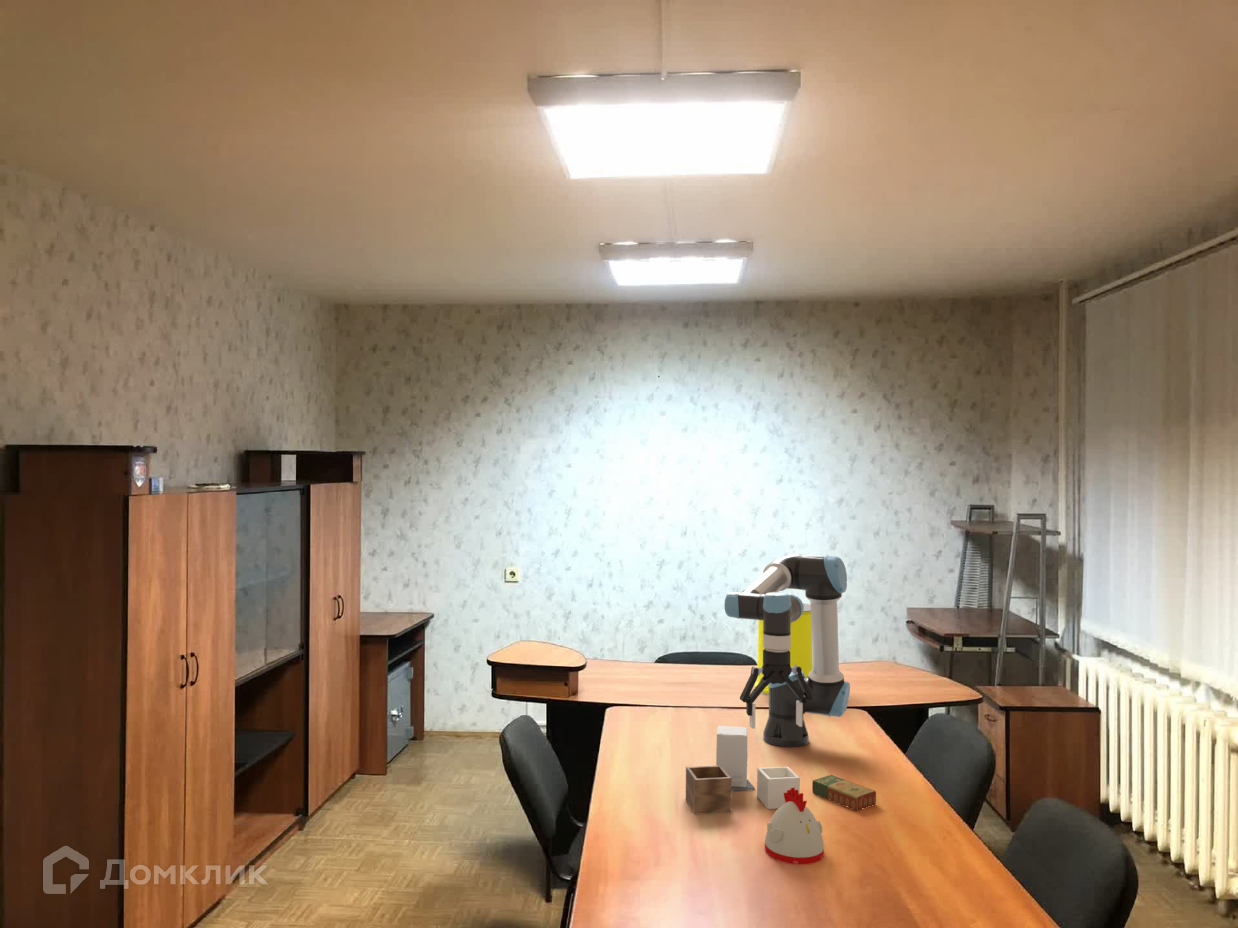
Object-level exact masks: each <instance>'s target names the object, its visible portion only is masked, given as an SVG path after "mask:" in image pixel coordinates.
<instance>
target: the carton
mask: <svg viewBox="0 0 1238 928" xmlns="http://www.w3.org/2000/svg"><path fill="white" fill-rule="evenodd" d="M811 785H812V787H811V788H812V789H811V790H812V794H814V795H816V796H820V797H821V798H824V799H826V800H829V799H830V800H829V801H831V802H834V801H835V802H834V803H836V804H838V803H840V804H839V805H841V806H843V805H844V806H843V807H846V806H848V807H849V809H851V808H852V809H851V810H853V809H854V810H853V811H855V810H859V811H862V810H863V809H862V808H865V809H867V808H866V807H868V806H871V807H873V806H872V805H874V806H876V805H875V804H877V792H876V790H874V789H872V788H869V787H866V786H863V785H860V784H859V783H856V782H852V781H849V780H847V779H844V778H841V777H839V776H836V775H833V774H829V775H825V776H822V777H820V778H819V777H818V778H816V779H813V780H812V784H811ZM848 807H847V808H848ZM868 808H869V807H868ZM861 809H862V810H861Z"/></svg>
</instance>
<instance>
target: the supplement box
mask: <svg viewBox="0 0 1238 928" xmlns="http://www.w3.org/2000/svg"><path fill="white" fill-rule="evenodd" d="M715 752H716V754H715V755H716V757H715V758H716V762H715V763H716V765H715V766H719V765H721V766H722V767H723V769H724V770H725V771H726V772H727V773H728V775H729V776H730V777H731V786H732V787H745V788H746V785H747V780H748V778H747V777H748V727H747V726H746V727H745V726H729V725H718V726H717V728H716V751H715Z"/></svg>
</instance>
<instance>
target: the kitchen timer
mask: <svg viewBox="0 0 1238 928" xmlns="http://www.w3.org/2000/svg"><path fill="white" fill-rule="evenodd" d="M784 798H785V802H786V803H785V804H783V805H782V806H781V807H779V808H777V810H776V811H775V812H774V813H773V814H772V817H771V818H770V821H769V822H767V827H766V830H767V831H766V834H765V837H764V851H765V853H766V854H767V855H768V856H769V857H770V858H773V859H774V860H776V861H779V862H782V863H785V864H790V865H809V864H814V863H817V862H820V861H821V860H822V859H824V855H825V853H824V852H825V849H824V848H825V847H824V846H825V845H824V840H823V835H822V833H823V827H822V823H821V821H820V820H817V819H816V817H815V816H814V814H813V813H812V811H811V810H810V808H809V807H807V806H806V805H807V802H808V800H804V793H803V792H802V793H801V792H800V794H799V792H798V790H795V788H791V790H787V792H786V793H784Z"/></svg>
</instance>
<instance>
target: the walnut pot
mask: <svg viewBox="0 0 1238 928" xmlns="http://www.w3.org/2000/svg"><path fill="white" fill-rule="evenodd" d="M685 801H686V802H687V804H688V805H689V807H690V809H691V810H692V812H693V813H694V815H697V814H699V815H700V814H715V813H716V814H717V813H730V812H731V813H732V791H731V777H730V776H729V775H728V773H727V772H726V771H725V770H724V769H723V767H722V766H721V765H719V766H716V765H700V766H686V767H685Z"/></svg>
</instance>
